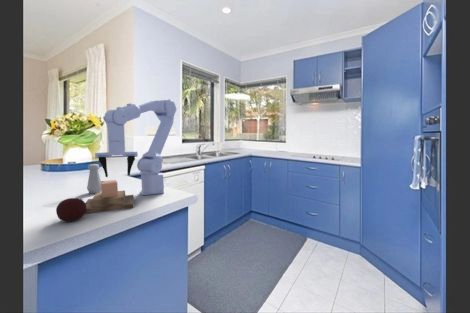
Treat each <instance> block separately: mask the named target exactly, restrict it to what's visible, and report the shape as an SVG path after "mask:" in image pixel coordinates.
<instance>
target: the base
mask: <svg viewBox="0 0 470 313" xmlns="http://www.w3.org/2000/svg"><path fill="white" fill-rule="evenodd" d="M134 201H135V200H134V194H128V195H127V194H126V190H118V196H111V197H104V198H102V195H101V192H100V193H96V194H94V196H92V198H87V200H86V202H85V204H86V213H85V214H86V215H87V214H93V213H94V214H95V213H101V212H102V213H103V212H111V211H112V212H113V211H120V210H129V209H130V210H131V209H134ZM85 214H84V215H85Z"/></svg>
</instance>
